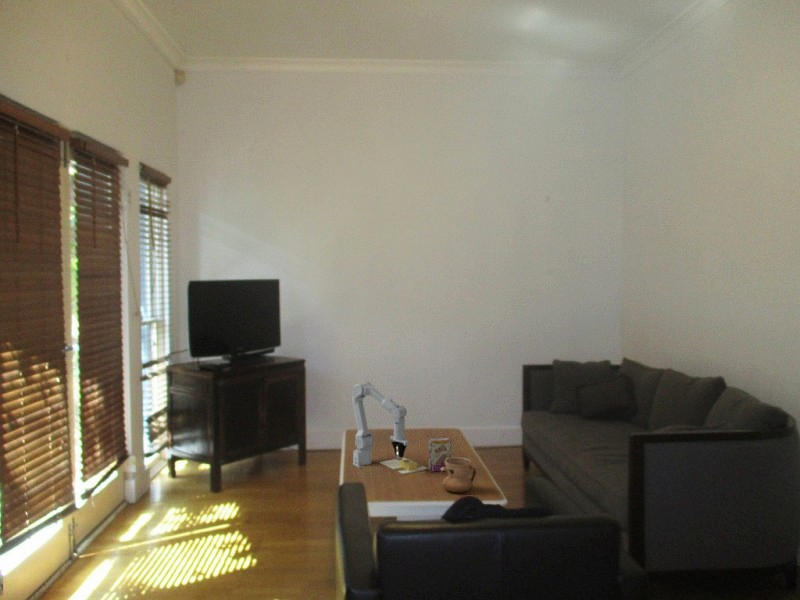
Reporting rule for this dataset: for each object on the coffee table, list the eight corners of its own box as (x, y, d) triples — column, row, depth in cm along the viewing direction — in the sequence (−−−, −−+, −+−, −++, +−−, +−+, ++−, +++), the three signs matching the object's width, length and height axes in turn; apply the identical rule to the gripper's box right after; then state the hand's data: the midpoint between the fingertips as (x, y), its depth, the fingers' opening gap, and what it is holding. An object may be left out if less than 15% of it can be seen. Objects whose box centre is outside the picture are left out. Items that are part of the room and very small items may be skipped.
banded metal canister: (398, 460, 349) (398, 447, 349) (395, 459, 352) (395, 445, 352) (403, 459, 351) (403, 446, 351) (400, 458, 353) (400, 445, 353)
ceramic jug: (444, 496, 313) (445, 466, 312) (435, 486, 327) (436, 457, 326) (481, 494, 317) (482, 464, 317) (471, 483, 331) (471, 455, 331)
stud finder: (408, 470, 349) (408, 464, 349) (399, 466, 357) (399, 460, 357) (417, 469, 352) (417, 463, 352) (407, 464, 360) (407, 459, 359)
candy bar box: (430, 472, 349) (430, 441, 349) (428, 469, 354) (428, 438, 353) (451, 471, 352) (451, 439, 351) (448, 468, 357) (448, 437, 356)
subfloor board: (402, 475, 345) (402, 473, 344) (378, 464, 365) (378, 462, 365) (428, 470, 353) (428, 468, 353) (404, 459, 373) (404, 457, 373)
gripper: (413, 432, 347) (413, 458, 347) (398, 426, 359) (398, 451, 360) (401, 433, 343) (401, 460, 344) (387, 428, 355) (387, 453, 356)
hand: (399, 456), depth 351 cm, fingers closed on banded metal canister, 3 cm apart
